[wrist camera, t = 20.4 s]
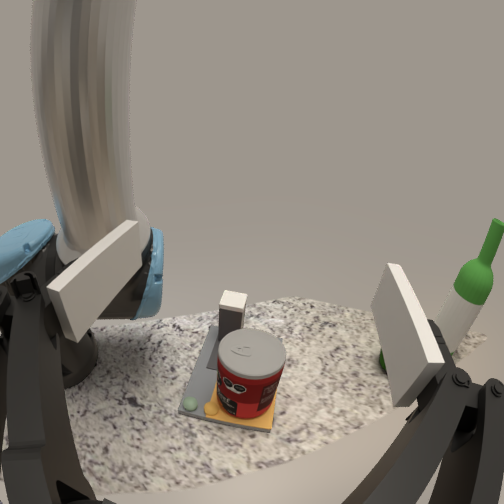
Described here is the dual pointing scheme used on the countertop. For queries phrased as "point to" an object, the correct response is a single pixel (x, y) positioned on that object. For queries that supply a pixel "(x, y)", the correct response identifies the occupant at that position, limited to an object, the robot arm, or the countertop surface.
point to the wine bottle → (469, 291)
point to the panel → (215, 392)
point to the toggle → (231, 313)
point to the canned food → (248, 371)
